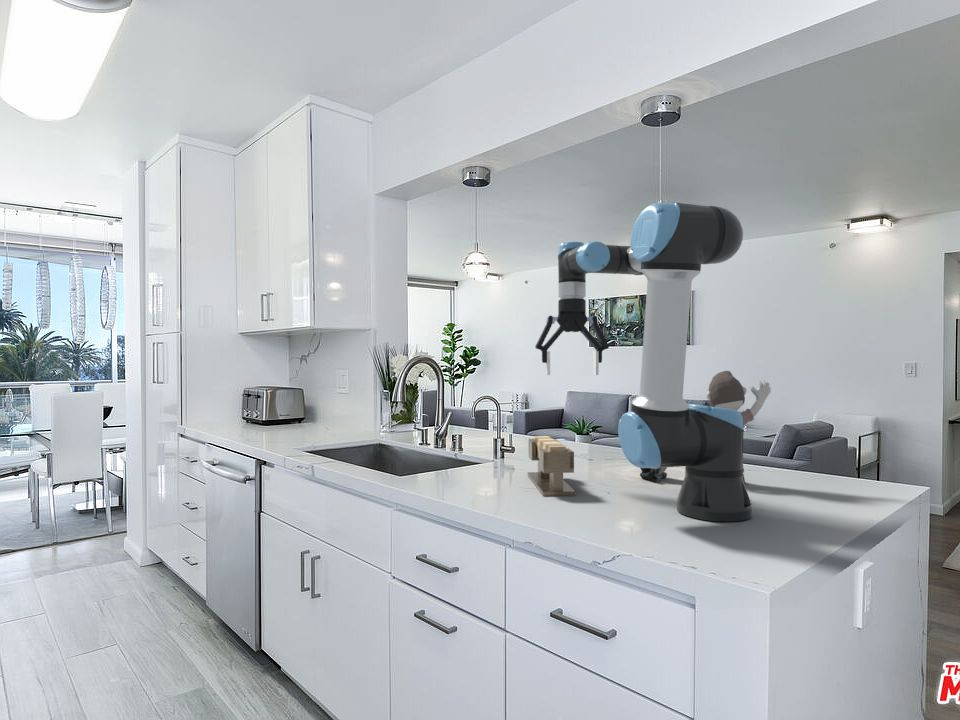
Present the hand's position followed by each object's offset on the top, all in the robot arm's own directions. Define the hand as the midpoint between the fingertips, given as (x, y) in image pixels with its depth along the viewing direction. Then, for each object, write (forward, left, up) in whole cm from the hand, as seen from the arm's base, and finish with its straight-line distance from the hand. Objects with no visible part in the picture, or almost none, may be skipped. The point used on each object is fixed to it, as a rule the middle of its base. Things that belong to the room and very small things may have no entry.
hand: (571, 374), depth 169 cm
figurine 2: (-10, -42, -29) cm, 52 cm away
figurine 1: (-4, -22, -29) cm, 37 cm away
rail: (-9, +8, -22) cm, 25 cm away
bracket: (-9, +8, -29) cm, 31 cm away
